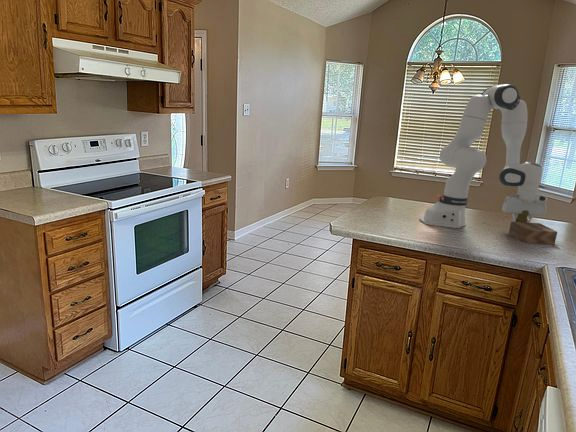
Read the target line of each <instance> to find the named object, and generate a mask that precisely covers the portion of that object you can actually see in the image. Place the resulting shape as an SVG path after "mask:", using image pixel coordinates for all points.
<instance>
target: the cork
mask: <svg viewBox="0 0 576 432" xmlns="http://www.w3.org/2000/svg"><path fill="white" fill-rule="evenodd" d="M528 217H529V211H527V210H524V211H522V213H521V214H517V217H516V218H517V219H518V222H527V218H528Z"/></svg>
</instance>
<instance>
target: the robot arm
mask: <svg viewBox="0 0 576 432" xmlns="http://www.w3.org/2000/svg"><path fill="white" fill-rule="evenodd" d="M493 109H495V110H499V111H500V112H501V126H500V129H501V136H502V137H501V138H502V140H503V141H504V143H505V146H506V147H505V148H506V155H505V165H504V166H503V168H502V171H501V172H500V173H499V175H498V177H499V179H498V180H499V182H500V183H501V184H502V185H503V186H506V187H518V188H517V193H516V194H511V193H509V194H508V195H506V196H505V197H504V202H503V205H502V206H501V207H502V208H501V210H502V212H504V213H505V214H511V216H512V218H513V219H512V221H513V222H518V219H517V217H516V216H518V214H521V213H522V211H524V210H527V211H529V215H528V216H527V222H528V223H531V220H532V219H533V218H534V217H535V216H544V215H546V212H547V208H548V207H547V206H548V203H547V201H548V199H549V198H548V196H545V195H543V194H541V193H539V186H540V185H541V182H542V177H543V167H542V166H541V164H539V163H536V162H533V161H525V162H523V163H521V148H522V144H523V141H524V139H525V136H526V133H527V128H528V107H527V103H526V102H525V100H522V99H521V96H520V92H519V90H518V88H517V87H516V86H515V85H513V84H510V83H509V84H508V83H505V84H496V85H493V86H489V87H487V88H486V89H484V90H483V91H482V92H481V93H480V94H476V95H473V96H471V98H470V99H469V100H468V102H467V104H466V106H465V109H464V111H463V114H462V116H461V119H460V120H461V121H460V123H459V126H458V129H457V132H456V133H455V135H454V136H453V138H452V140H451V141H450V142H448V144H447V145H445V146H443V148H441V150H440V153H439V160H440V162H441V163H442V164H443V165H445V166H447V167H450V168H455V170H454V173H453V174H452V175H451V176H449V177H448V178H447V179H446V180H445V185H444V191H443V194H442V195H441V194H437V195H436V198H437V199H439V200H438V201H437V202H435V203H434V204H432V205H430V206H428V207H427V208H426V210H425V213H424V215H421V216H419V221H420V222H422V224H425V225H428V226H436V227H443V228H444V227H445V228H453V229H460V228H463V227H465V226H466V225H467V224H466V208H467V206H468V200H469V199H468V196H469V195H468V194H469V190H470V184H471V182H472V180H473V178H474V176H475V175H476V174H477V173H478V172H480V171H482V169H484V168H485V165H486V164H487V155H486V154H485V151H484V152H483V151H481V150H479V149H478V148H474V147H471V146H472V144H473V143H474V142H475V141H476V140H479V139H480V138H481V137H482V136H483V132H484V130H485V126H486V124H487V119H488V116H489V114H490V112H491V111H492V110H493Z"/></svg>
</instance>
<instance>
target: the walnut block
mask: <svg viewBox="0 0 576 432" xmlns="http://www.w3.org/2000/svg"><path fill="white" fill-rule="evenodd" d="M508 229H509V231H508V234H509V235H511V236H512V237H514V238H516V239H517V240H519V241H520V242H522V243H525V244H526V243H527V244H541V245H555V244H556V239H557V235H558V231H557V230H554V229H552V228H550V227H549V226H546V225H545V224H542V223H541V222H530V223H528V222H513V220H512V221H510V225H509V228H508Z"/></svg>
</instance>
